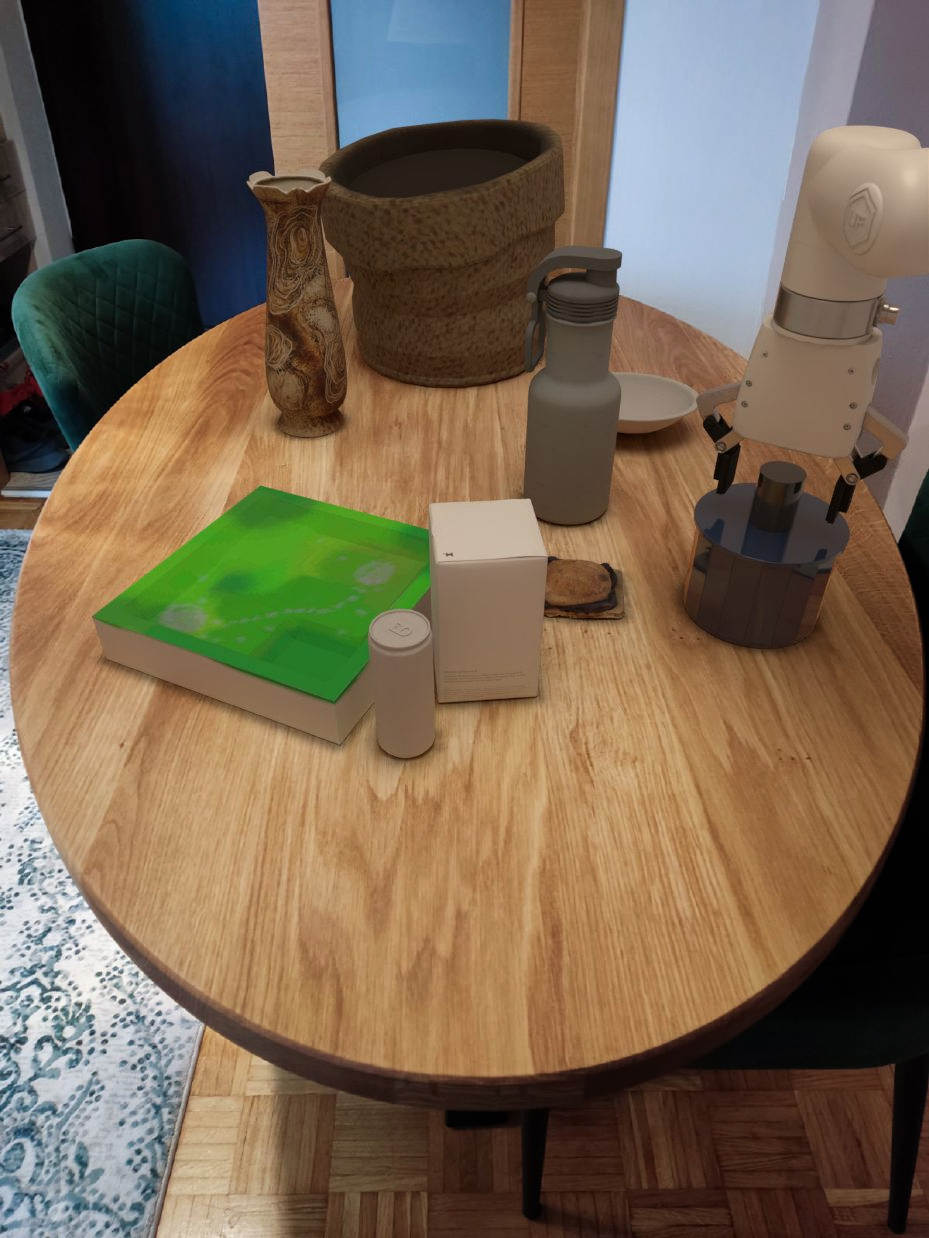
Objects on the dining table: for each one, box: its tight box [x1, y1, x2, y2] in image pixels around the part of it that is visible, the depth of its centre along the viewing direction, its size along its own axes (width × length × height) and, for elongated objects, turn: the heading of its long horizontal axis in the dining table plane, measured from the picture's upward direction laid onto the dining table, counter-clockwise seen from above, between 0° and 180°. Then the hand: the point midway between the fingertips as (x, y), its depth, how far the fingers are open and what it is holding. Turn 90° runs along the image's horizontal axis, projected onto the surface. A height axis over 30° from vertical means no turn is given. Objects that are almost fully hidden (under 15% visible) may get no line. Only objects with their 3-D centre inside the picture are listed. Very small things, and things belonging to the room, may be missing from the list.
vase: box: [245, 168, 348, 438], centre depth 108 cm, size 10×11×30 cm
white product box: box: [427, 498, 549, 703], centre depth 75 cm, size 9×9×15 cm
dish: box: [610, 371, 700, 434], centre depth 114 cm, size 18×14×5 cm
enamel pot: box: [683, 527, 839, 649], centre depth 83 cm, size 13×13×10 cm
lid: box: [693, 460, 851, 568], centre depth 79 cm, size 14×14×6 cm
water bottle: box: [522, 245, 623, 526], centre depth 92 cm, size 10×10×28 cm
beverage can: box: [368, 609, 436, 759], centre depth 69 cm, size 5×5×12 cm
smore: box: [544, 555, 626, 620], centre depth 87 cm, size 11×8×4 cm
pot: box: [317, 118, 566, 388], centre depth 128 cm, size 35×35×30 cm
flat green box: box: [91, 485, 432, 745], centre depth 83 cm, size 25×25×5 cm
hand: (777, 501), depth 79 cm, fingers open, 9 cm apart
